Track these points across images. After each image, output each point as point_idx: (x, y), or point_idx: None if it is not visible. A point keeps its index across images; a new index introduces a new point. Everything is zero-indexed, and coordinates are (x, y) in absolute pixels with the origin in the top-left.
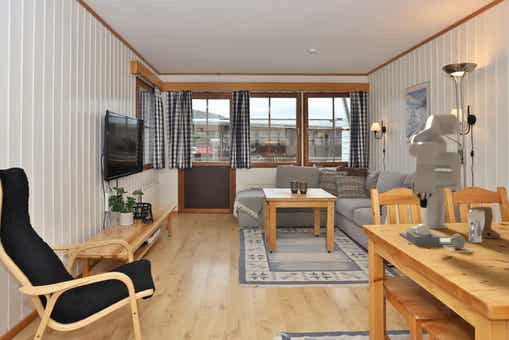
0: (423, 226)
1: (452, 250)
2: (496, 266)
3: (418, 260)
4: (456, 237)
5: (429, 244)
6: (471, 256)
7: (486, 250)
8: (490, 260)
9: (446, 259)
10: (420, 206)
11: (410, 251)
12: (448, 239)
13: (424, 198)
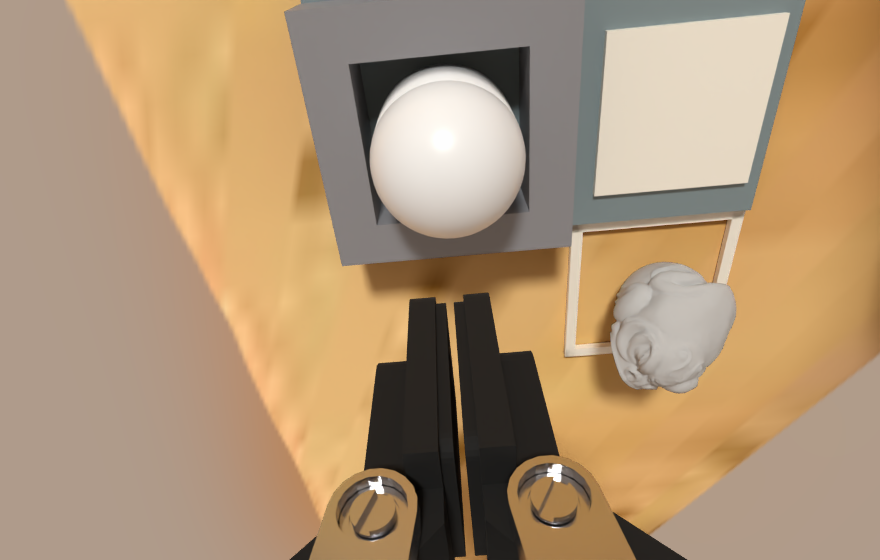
0: (437, 234)
1: (572, 344)
2: (641, 515)
3: (307, 487)
4: (641, 385)
5: None
6: (627, 412)
7: (833, 295)
8: (682, 456)
9: None
10: (411, 305)
11: (289, 366)
12: (722, 84)
13: (488, 547)
